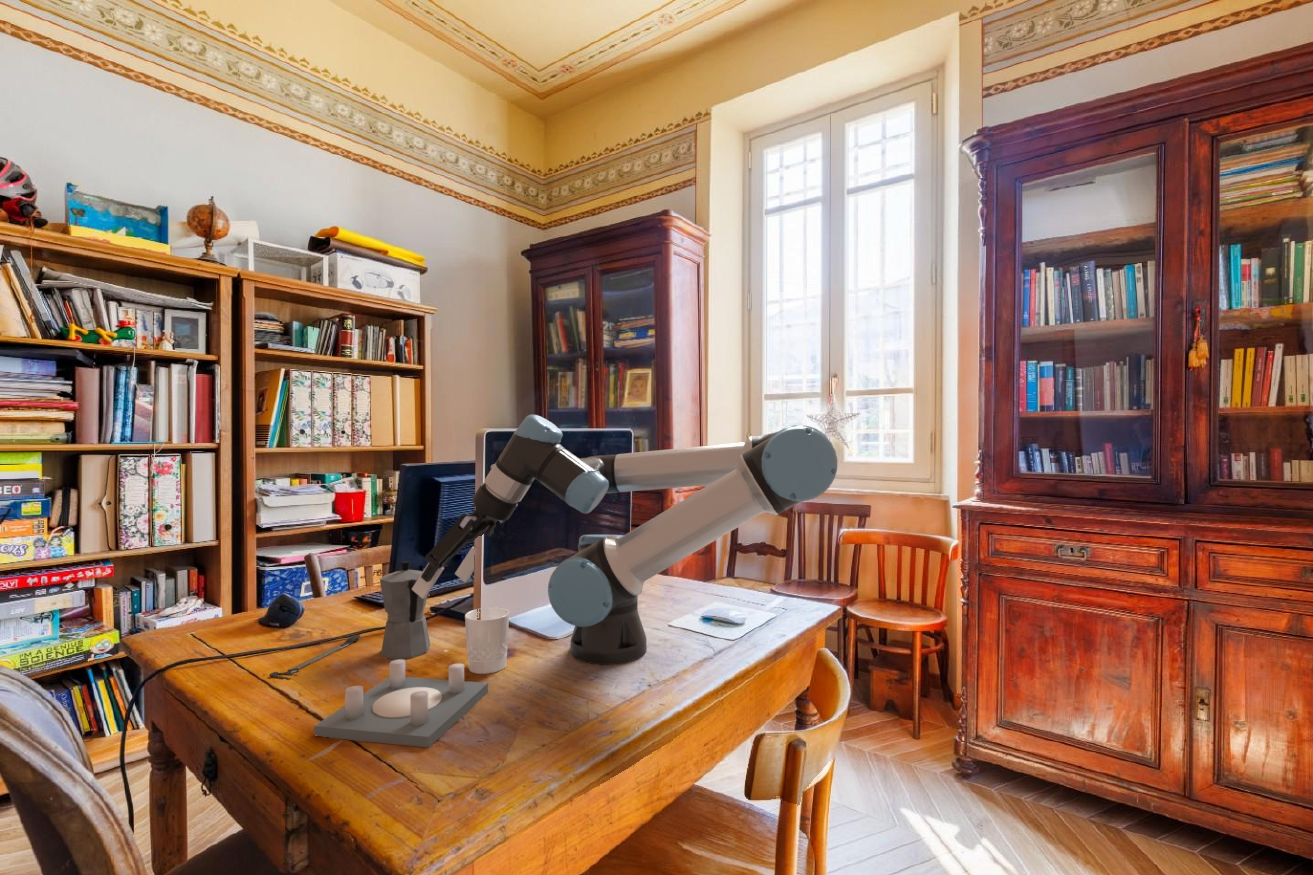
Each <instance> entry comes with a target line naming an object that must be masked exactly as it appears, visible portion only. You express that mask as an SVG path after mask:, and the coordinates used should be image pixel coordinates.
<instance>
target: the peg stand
mask: <svg viewBox="0 0 1313 875" xmlns="http://www.w3.org/2000/svg"><path fill="white" fill-rule="evenodd" d="M488 692H489V682H481V681H480V682H479V681H468V680H467V681H465V664H464V663H453V664H450V665H449V666H448V679H441V678H440V679H438V678H426V677H417V676H416V677H413V676H406V660H405V659H392V660H391V661H390V662H389V676H388V677H387V678H385V679H384V680H382V681H381V682H379V683H378V684H376V685H374V686H372V688H370V689H368V690H367V691H365V692H364V687H363V686H361V685H353V686H350V687H347V688H345V690H344V706H343V707H341V708H339V709H337V710H336V711H334V712H333V713H331V714H329V716H327V717H325V718H324V719H322V720H321V721H319V722H318V723H317V724H315V725H313V736H314V735H317V736H324V737H323V738H326V737H329V738H328V739H337V740H347V741H358V742H367V743H378V744H389V745H397V746H398V745H399V746H407V747H409V746H410V747H418V748H419V747H420V748H430V747H432V745H434V744H435V742H436V741H438V740H439V739H440V738H442V737H443V735H444V734H446V732H447V731H448V730H450V729H451V728H452V727H453V726H454V725H455V724H456V722H458V721H459V720H460V719H461V718H463V716H465V714H466V713H467V712H469V711H470V709H472V708H473V707H474V706H475V705H476V704H478V702H479V701H481V700H482V699H483V697H484V696H486V695H487V694H488Z"/></svg>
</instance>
